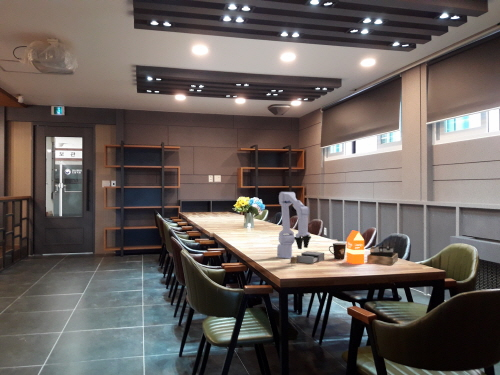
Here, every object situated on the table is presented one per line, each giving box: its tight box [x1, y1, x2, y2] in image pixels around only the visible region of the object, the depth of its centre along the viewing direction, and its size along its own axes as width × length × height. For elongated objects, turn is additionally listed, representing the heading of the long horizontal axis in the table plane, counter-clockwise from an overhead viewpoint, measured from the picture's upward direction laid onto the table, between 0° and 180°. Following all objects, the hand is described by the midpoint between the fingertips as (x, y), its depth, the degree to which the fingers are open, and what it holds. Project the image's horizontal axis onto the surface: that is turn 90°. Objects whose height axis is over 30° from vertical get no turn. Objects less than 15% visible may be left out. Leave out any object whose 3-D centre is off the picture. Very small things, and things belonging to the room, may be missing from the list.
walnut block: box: [289, 256, 298, 264], centre depth 235 cm, size 3×3×4 cm
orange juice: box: [346, 229, 365, 265], centre depth 239 cm, size 8×9×20 cm
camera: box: [369, 245, 394, 257], centre depth 244 cm, size 15×11×10 cm
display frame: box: [366, 252, 399, 266], centre depth 244 cm, size 15×19×4 cm
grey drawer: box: [296, 254, 318, 264], centre depth 239 cm, size 11×10×4 cm
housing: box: [300, 250, 325, 263], centre depth 247 cm, size 12×10×4 cm
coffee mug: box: [328, 242, 347, 261], centre depth 252 cm, size 12×9×10 cm
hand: (302, 248), depth 232 cm, fingers open, 7 cm apart
